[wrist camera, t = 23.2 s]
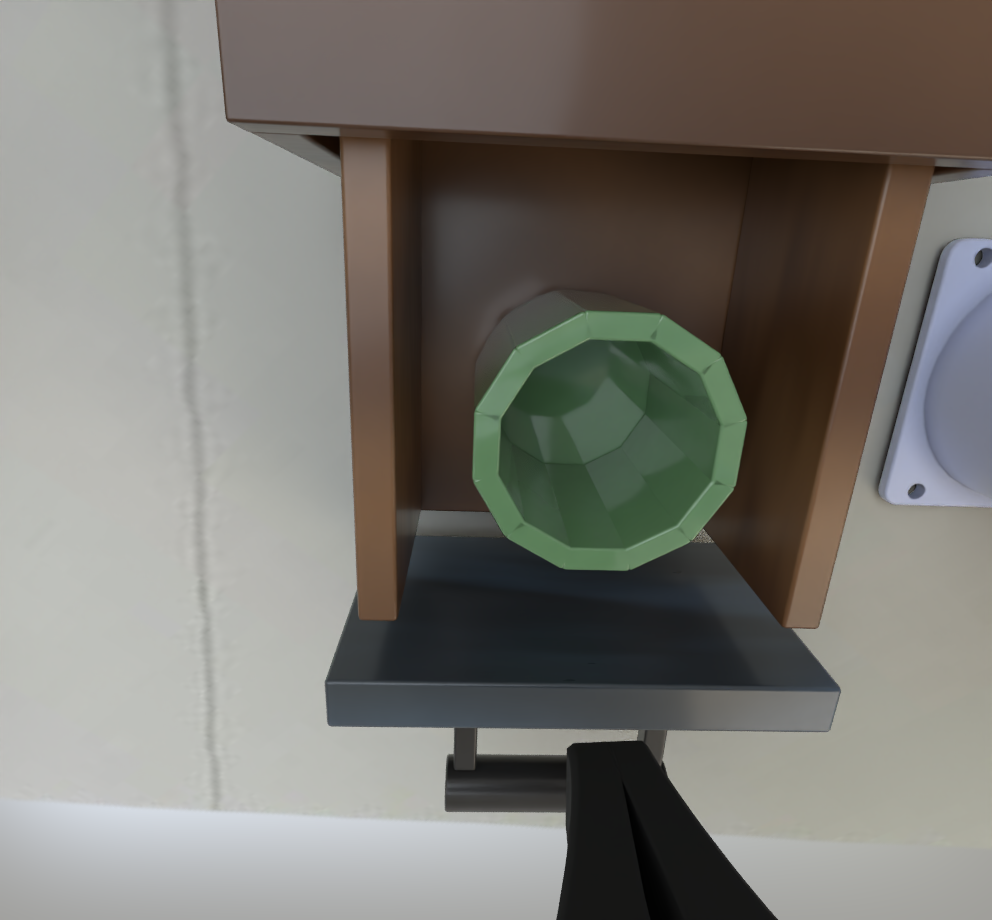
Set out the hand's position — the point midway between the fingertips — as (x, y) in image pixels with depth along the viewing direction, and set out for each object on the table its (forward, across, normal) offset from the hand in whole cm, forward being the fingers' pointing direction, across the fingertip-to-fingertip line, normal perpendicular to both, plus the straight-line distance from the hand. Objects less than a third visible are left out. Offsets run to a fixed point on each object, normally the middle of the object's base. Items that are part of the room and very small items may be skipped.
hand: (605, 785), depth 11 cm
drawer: (+9, 0, -4) cm, 10 cm away
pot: (+8, 0, -6) cm, 10 cm away
